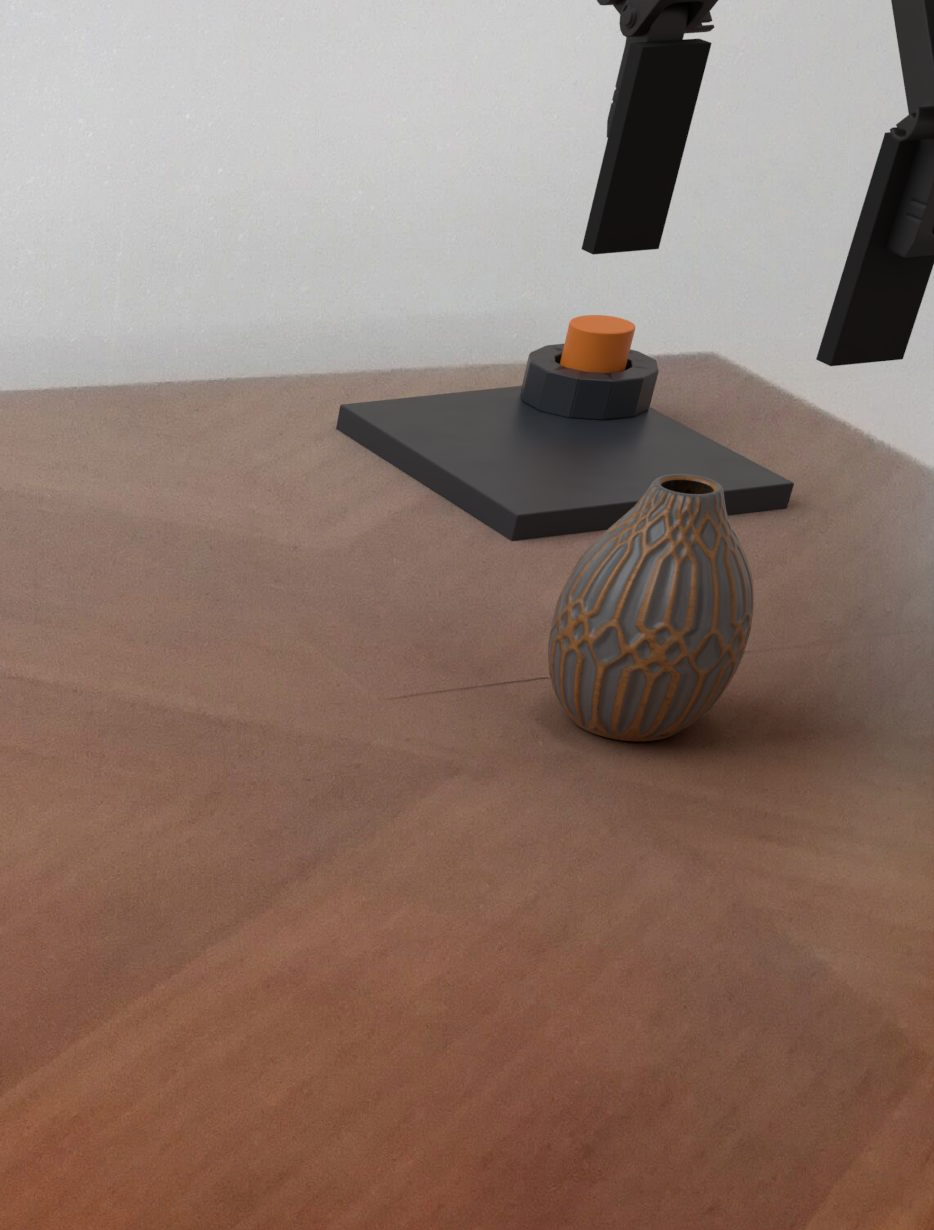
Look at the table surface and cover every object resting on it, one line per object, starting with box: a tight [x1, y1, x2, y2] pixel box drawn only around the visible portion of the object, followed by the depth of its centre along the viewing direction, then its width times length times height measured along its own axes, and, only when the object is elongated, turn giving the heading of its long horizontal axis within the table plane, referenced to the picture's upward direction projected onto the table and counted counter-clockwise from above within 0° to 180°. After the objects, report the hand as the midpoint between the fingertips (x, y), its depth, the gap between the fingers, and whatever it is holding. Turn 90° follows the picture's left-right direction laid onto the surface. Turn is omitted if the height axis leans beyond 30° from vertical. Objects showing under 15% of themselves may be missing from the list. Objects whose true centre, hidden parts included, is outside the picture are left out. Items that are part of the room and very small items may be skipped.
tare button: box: [560, 314, 636, 373], centre depth 117 cm, size 3×3×2 cm
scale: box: [335, 343, 795, 542], centre depth 114 cm, size 16×14×3 cm
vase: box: [547, 474, 755, 742], centre depth 91 cm, size 7×7×9 cm
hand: (732, 302), depth 84 cm, fingers open, 13 cm apart
